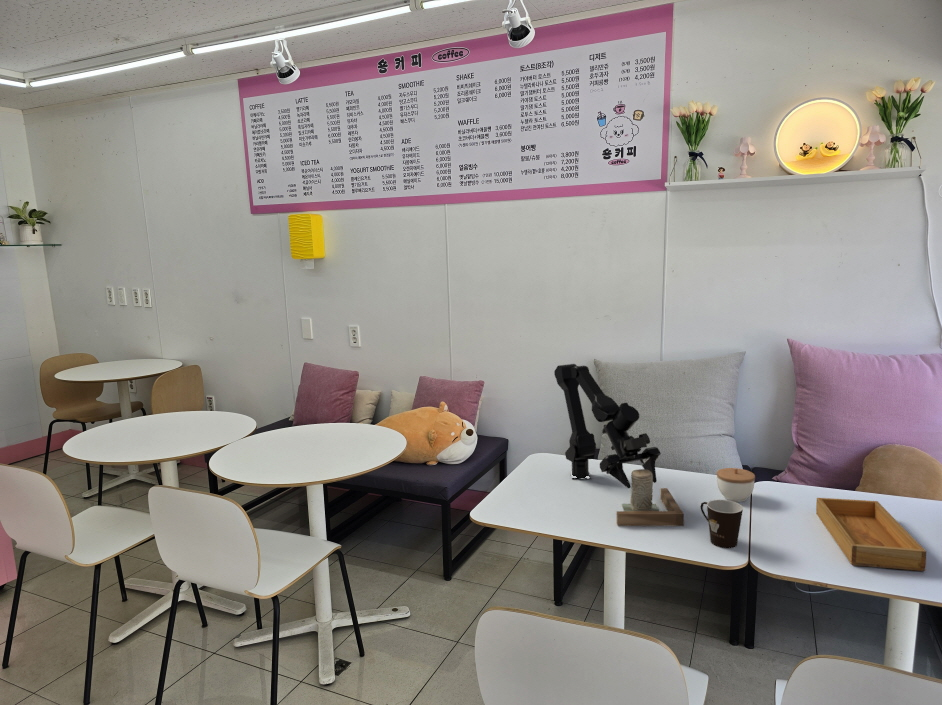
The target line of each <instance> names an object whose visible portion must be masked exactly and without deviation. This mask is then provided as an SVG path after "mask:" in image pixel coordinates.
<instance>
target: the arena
mask: <svg viewBox="0 0 942 705" xmlns="http://www.w3.org/2000/svg"><path fill="white" fill-rule="evenodd" d="M659 493H660V500H661V502H662V504H663V506H664V507H665V509H666V510H660V509H659V507H658V506H657V503H652V508H651V510H650V511H633V510H632V508H631V503H621V506H622V509H623V510H619V511H618V510H617V511H616V525H617V527H665V526H666V527H684V525H685V524H684V522H685V520H684V516H685V514H684V511H682V509H681V507H680V506H679V504H678V503H677V501H676V499H675V498H674V496H673V495H672V493H671V491H670V490H669V488H668V487H662V488H661V487H660V492H659Z"/></svg>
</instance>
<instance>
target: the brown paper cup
mask: <svg viewBox="0 0 942 705" xmlns="http://www.w3.org/2000/svg"><path fill="white" fill-rule="evenodd" d="M704 505H706V509H707V510H706V511H707V515H706V513H705V510H704ZM699 507H700V512H701V513H702V515H703V517H704V518H705V520H706V521H707V522H708V529H709V537H710V540H709V541H710V544H712V545H713V546H715V547H718V548H721V549H734V548H736V547H737V546H738V542H739V535H740V531H741V530H740V529H741V522H742V516H743V510H744V508H743V505H741V504H740V503H738V502H734V501H730V500H727V499H713V500H708V502H707V501H703V502H701V503H700V506H699Z"/></svg>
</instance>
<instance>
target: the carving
mask: <svg viewBox="0 0 942 705" xmlns="http://www.w3.org/2000/svg"><path fill="white" fill-rule="evenodd" d="M630 475H631V476H630V480H631V482H630V486H631V487H630V488H631V491H630V492H631V495H630V504H631V508H632V510H633V511H650V510H651V508H652V504H653V493H654V491H653V486H654V482H653V475H652V473H651V471H649V470H646V469H644V468H642V469H641V468H640V469H635V470H632V471H631V474H630Z"/></svg>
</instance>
